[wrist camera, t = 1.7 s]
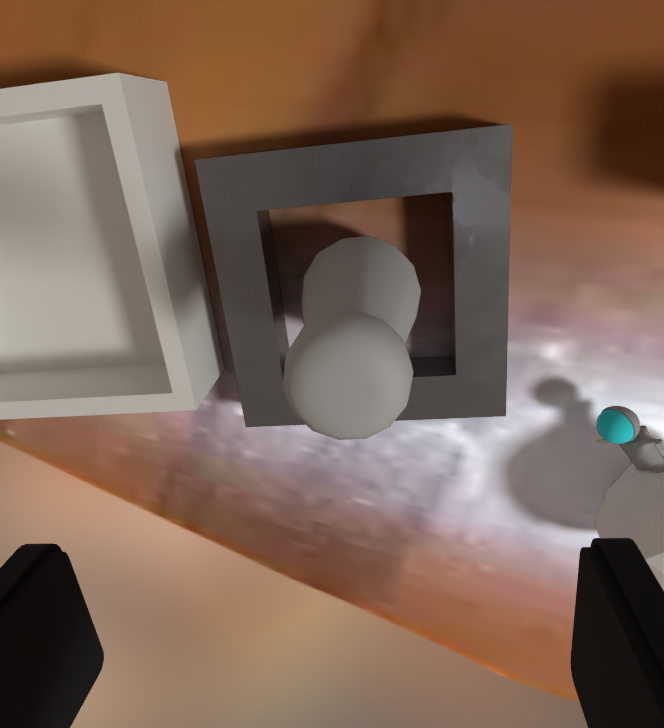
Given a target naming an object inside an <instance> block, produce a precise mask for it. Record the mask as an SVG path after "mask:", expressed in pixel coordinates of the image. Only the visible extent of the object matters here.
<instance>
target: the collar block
mask: <svg viewBox="0 0 664 728" xmlns="http://www.w3.org/2000/svg"><path fill="white" fill-rule="evenodd" d="M511 163H512V124H499V125H490V126H481V127H473V128H464V129H455V130H446V131H437V132H428V133H419V134H410V135H402V136H393V137H384V138H375V139H366V140H357V141H348V142H339V143H331V144H322V145H313V146H304V147H295V148H286V149H277V150H268V151H259V152H251V153H242V154H233V155H224V156H215V157H208V158H202V159H196V160H195V165H196V170H197V175H198V181H199V186H200V191H201V196H202V201H203V206H204V212H205V217H206V222H207V227H208V232H209V238H210V243H211V248H212V253H213V258H214V264H215V269H216V274H217V279H218V284H219V290H220V295H221V300H222V305H223V310H224V316H225V321H226V326H227V331H228V336H229V342H230V347H231V352H232V357H233V362H234V368H235V373H236V378H237V383H238V388H239V394H240V399H241V404H242V409H243V414H244V420H245V425H246V427H259V426H282V425H306V424H305V423H304V422H303V421H302V420H301V419H300V418H299V417H297V416H296V415H295V414H294V413H293V411H292V408H291V406H290V404H289V401H288V399H287V397H286V394H285V392H284V390H283V380H284V369H285V358H286V354H287V352H288V350H289V345H288V338H287V331H286V325H285V318H284V311H283V304H282V298H281V291H280V284H279V277H278V270H277V264H276V257H275V250H274V243H273V236H272V230H271V223H270V216H269V210H270V209H281V208H291V207H301V206H311V205H322V204H332V203H342V202H352V201H363V200H373V199H383V198H393V197H404V196H414V195H424V194H434V193H445V192H448V228H449V275H450V322H451V356H445V357H427V358H410V361H411V364H412V369H413V377H412V383H411V389H410V394H409V399H408V402H407V405H406V407H405V409H404V410H403V411H402V412H401V414H400V415H399V416H398V417H397V418H396V420H395V421H399V420H423V419H446V418H470V417H493V416H506V384H507V340H508V296H509V251H510V207H511Z"/></svg>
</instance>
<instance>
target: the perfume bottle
mask: <svg viewBox="0 0 664 728" xmlns="http://www.w3.org/2000/svg"><path fill="white" fill-rule="evenodd" d="M597 429H598V432H599V434H600V435H601V436H602V437H603V438H604V439H605V440H604V439H602V440H596V441H597V442H603V443H604V442H611V443H616V444H619V445H620V447H621V448H622V449H623V451H624V452H625V453H626V454H627V455H628V457H629V458H630V460H631V462H632V464H631V465H630V466H629V467H628V468H627V469H626V470H625V471H624V473H623V474H622V475H621V476H620V477H619V478H618V479H617V480H616V481H615V483H614V484H613V485H612V486H611V487H610V488H609V489H608V490H607V492H606V495H605V497H604V500H603V503H602V505H601V508H600V511H599V513H598V516H597V519H596V521H595V524H596V528H597V531H598V534H599V537H600V538H631V539H632V540H633V541H634V542H635V543H636V545H637V546H638V548H639V550H640V551H641V553H642V555H643V557H644V558H645V560H646V562H647V563H648V565H649V567H650V568H651V570H652V572H653V574H654V575H655V577H656V579H657V580H658V582H659V584H660V585H661V587H662V589H663V591H664V458H663V457H662V456H661V454H660V452H659V451H658V449H657V447H656V446H655V444H654V443H656V444H658V443H661V442H662V440H660V439H658V440H657V439H652V438H651V437H650V435H649V433H648V430H647V428H646V426H640V422H639V419H638V417H637V415H636V414H635V413H634V412H633V411H631V410H630V409H628V408H625V407H622V406H611V407H607V408H605V409H604V410H603V411H602V412H601V414H600V415H599V417H598V420H597Z"/></svg>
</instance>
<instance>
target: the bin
mask: <svg viewBox="0 0 664 728" xmlns="http://www.w3.org/2000/svg"><path fill="white" fill-rule="evenodd" d="M223 371H224V365H223V360H222V355H221V350H220V345H219V340H218V335H217V330H216V325H215V320H214V315H213V310H212V305H211V300H210V295H209V290H208V285H207V280H206V275H205V270H204V265H203V260H202V255H201V250H200V245H199V240H198V235H197V230H196V225H195V220H194V215H193V210H192V205H191V200H190V195H189V190H188V185H187V180H186V175H185V170H184V165H183V160H182V155H181V150H180V145H179V141H178V136H177V131H176V126H175V121H174V116H173V111H172V106H171V101H170V96H169V91H168V86H167V82H164V81H159V80H153V79H148V78H143V77H138V76H133V75H128V74H123V73H112V74H105V75H98V76H90V77H83V78H76V79H69V80H61V81H54V82H47V83H40V84H32V85H25V86H18V87H11V88H3V89H0V419H20V418H41V417H62V416H83V415H104V414H125V413H146V412H167V411H188V410H197V408H198V407H199V405H200V404H201V403H202V401H203V400H204V398H205V397H206V395H207V394H208V392H209V391H210V389H211V388H212V387H213V385H214V384H215V382H216V381H217V379H218V378H219V376H220V375H221V373H222V372H223Z"/></svg>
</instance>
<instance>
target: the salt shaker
mask: <svg viewBox="0 0 664 728" xmlns="http://www.w3.org/2000/svg"><path fill="white" fill-rule="evenodd" d="M420 295H421V289H420V286H419V282H418V279H417V275H416V272H415V268H414V265H413V264H412V263H411V262H410V261H409V260H408V259H407V258H406V257H405V256H404V255H403V254H402V253H401V252H400V251H399V250H398V249H397V248H396V247H395V246H394V245H392V244H390V243H387V242H384V241H382V240H379V239H377V238H374V237H371V236H361V237H353V238H344V239H341V240H339V241H337V242H335V243H334V244H332V245H330V246H329V247H327V248H325V249H324V250H322V251H320V252H318V253H317V255H316V257H315V258H314V260H313V262H312V264H311V265H310V267H309V269H308V270H307V272H306V274H305V275H304V284H303V293H302V311H303V322H304V327H303V328H302V330H301V331H300V333H299V335H298V336H297V338H296V339H295V341H294V342H293V344H292V346H291V347H290V349H289V350H288V352H287V354H286V358H285V369H284V380H283V390H284V392H285V394H286V397H287V399H288V401H289V404H290V406H291V408H292V411H293V413H294V414H295V415H296V416H297V417H299V418H300V419H301V420H302V421H303V422H304V423H305V424H306V425H307V426H308V427H309V428H310V429H311V430H313V431H315V432H318V433H321V434H324V435H327V436H330V437H332V438H335V439H338V440H342V439H366V438H368V437H370V436H372V435H374V434H376V433H378V432H380V431H382V430H384V429H386V428H388V427H390V426H391V425H392V423H393V422H394V421H395V420H396V418H397V417H398V416H399V415H400V414H401V412H402V411H403V410H404V409H405V407H406V405H407V402H408V399H409V394H410V389H411V383H412V377H413V369H412V364H411V361H410V358H409V354H408V351H407V348H406V345H405V343H406V341H407V338H408V336H409V333H410V331H411V329H412V326H413V324H414V322H415V319H416V317H417V311H418V306H419V300H420Z"/></svg>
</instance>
